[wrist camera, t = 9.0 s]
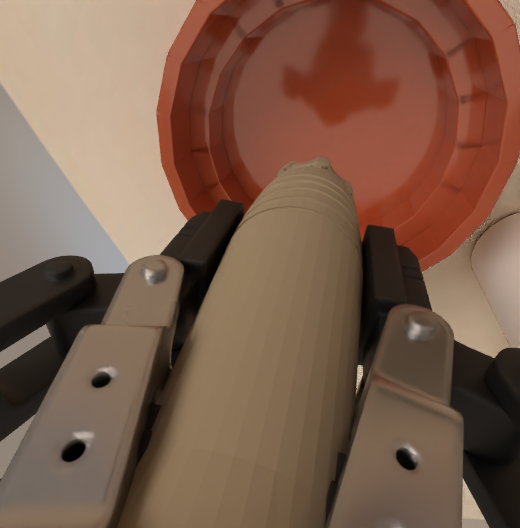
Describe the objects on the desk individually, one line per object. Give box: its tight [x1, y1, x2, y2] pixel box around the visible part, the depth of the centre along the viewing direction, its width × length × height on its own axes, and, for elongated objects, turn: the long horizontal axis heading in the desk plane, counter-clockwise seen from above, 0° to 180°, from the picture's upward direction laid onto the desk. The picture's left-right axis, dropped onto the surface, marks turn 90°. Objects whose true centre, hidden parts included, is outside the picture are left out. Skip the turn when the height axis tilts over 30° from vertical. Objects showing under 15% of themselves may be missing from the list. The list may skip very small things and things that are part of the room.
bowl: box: [157, 0, 520, 272], centre depth 20 cm, size 18×18×6 cm
